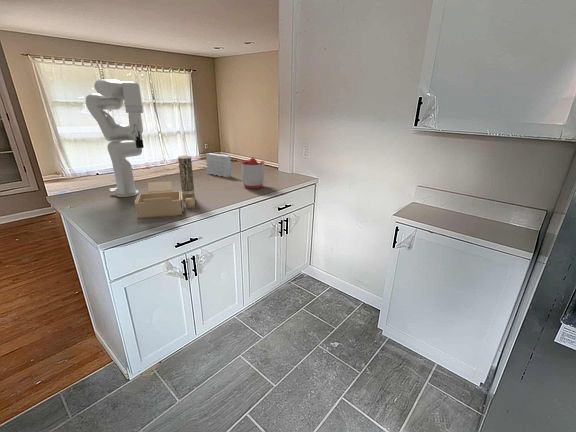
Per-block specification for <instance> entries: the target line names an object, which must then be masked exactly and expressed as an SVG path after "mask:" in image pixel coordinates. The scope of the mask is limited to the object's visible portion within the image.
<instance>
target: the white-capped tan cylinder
mask: <svg viewBox="0 0 576 432" xmlns="http://www.w3.org/2000/svg"><path fill="white" fill-rule="evenodd" d="M195 201H196V200H195V199H194V198H192V197H190V198H186V199H185V200H184V202H185V209H188V210H189V209H190V210H191V209H194V208H196V202H195Z"/></svg>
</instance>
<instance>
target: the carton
mask: <svg viewBox="0 0 576 432" xmlns="http://www.w3.org/2000/svg"><path fill="white" fill-rule="evenodd" d="M165 197H171V199H172V201H162V202H149V203H145V202H144V201H143V199H151V198H165ZM134 207H135V213H136V216H138V217H137V218H138V220H139V219H142V220H143V219H151V218H153V219H154V218H162V217H174V216H182V215H183V212H184V200H183V196H182V191H180V190H177V191H162V192H145V193H139V194H137V196H136V198H135V200H134Z"/></svg>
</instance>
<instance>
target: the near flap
mask: <svg viewBox="0 0 576 432" xmlns="http://www.w3.org/2000/svg"><path fill="white" fill-rule="evenodd" d="M143 201H144V202H145V203H149V202H162V201H172V199H171V197H165V198H151V199H143Z"/></svg>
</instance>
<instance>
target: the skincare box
mask: <svg viewBox="0 0 576 432" xmlns="http://www.w3.org/2000/svg"><path fill="white" fill-rule="evenodd" d="M205 157H206V173H208V174H207V175H211V174H213V175H212V176H216V175H218V176H217V177H221V176H223V178H231V177H232V166H231V156H230V155H225V154H221V153H220V154H219V153H214V152H213V153H212V152H209V153H206V154H205Z"/></svg>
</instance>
